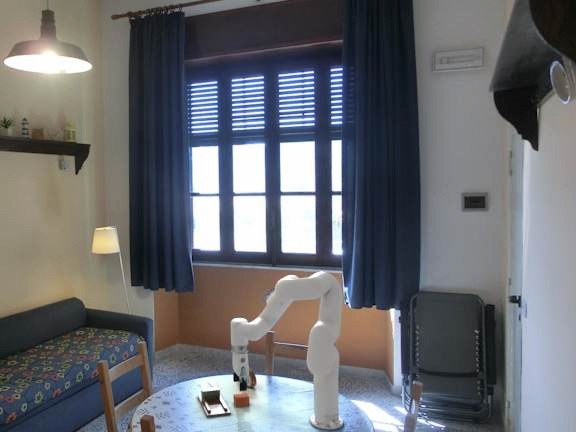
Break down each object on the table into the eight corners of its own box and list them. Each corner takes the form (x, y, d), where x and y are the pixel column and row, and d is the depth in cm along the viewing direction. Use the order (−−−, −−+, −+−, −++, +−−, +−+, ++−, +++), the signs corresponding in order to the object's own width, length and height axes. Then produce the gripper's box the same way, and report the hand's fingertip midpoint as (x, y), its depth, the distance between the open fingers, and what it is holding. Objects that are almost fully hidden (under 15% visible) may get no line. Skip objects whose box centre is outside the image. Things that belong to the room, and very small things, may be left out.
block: (246, 401, 219) (246, 392, 219) (249, 405, 215) (249, 396, 215) (233, 403, 218) (233, 394, 218) (236, 407, 214) (235, 398, 214)
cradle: (230, 414, 208) (230, 403, 207) (207, 417, 206) (207, 405, 205) (219, 394, 227) (218, 384, 227) (197, 397, 225) (197, 386, 225)
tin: (257, 389, 232) (256, 371, 231) (251, 390, 230) (251, 372, 230) (240, 378, 245) (240, 361, 245) (234, 379, 244) (234, 362, 243)
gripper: (254, 353, 207) (254, 393, 209) (242, 340, 224) (242, 377, 226) (236, 355, 206) (237, 395, 207) (226, 341, 223) (226, 378, 224)
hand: (240, 385), depth 216 cm, fingers open, 9 cm apart
